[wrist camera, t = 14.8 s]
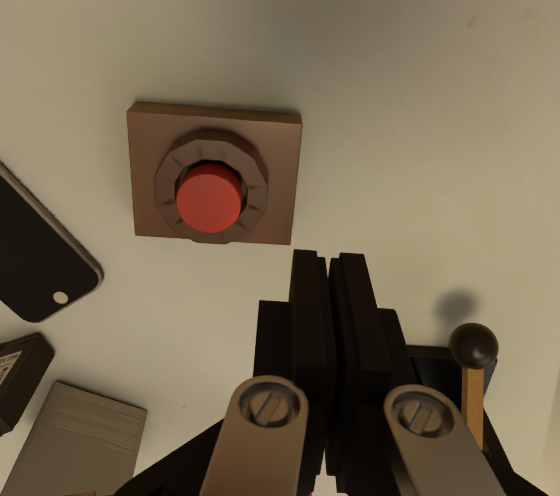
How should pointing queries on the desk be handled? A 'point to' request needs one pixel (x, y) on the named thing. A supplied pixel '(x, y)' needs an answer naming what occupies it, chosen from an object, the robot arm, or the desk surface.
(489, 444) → the switch bracket
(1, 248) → the smartphone
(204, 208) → the button
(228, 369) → the desk surface
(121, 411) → the cosmetic box
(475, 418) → the switch lever
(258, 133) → the button box
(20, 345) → the ink cartridge
